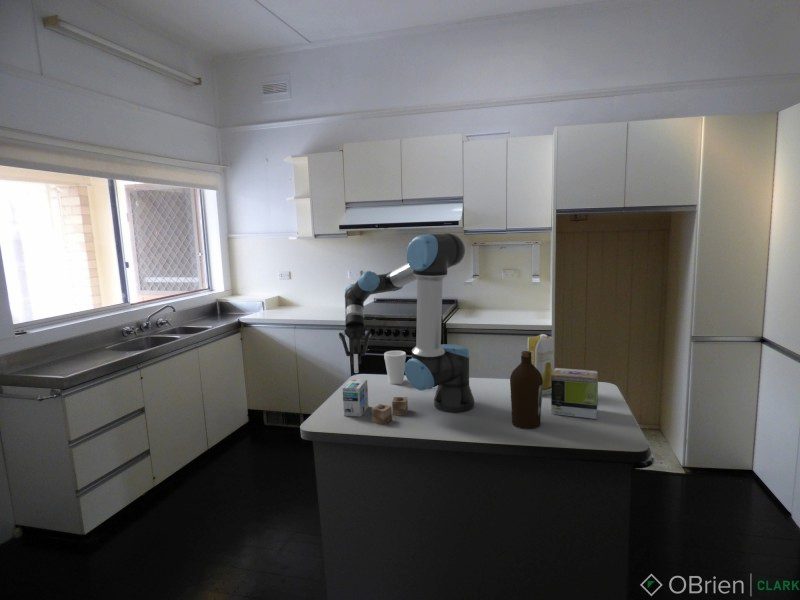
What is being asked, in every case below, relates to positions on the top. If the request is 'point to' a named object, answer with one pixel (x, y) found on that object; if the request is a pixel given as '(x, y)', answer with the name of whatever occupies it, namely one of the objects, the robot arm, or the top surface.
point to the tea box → (574, 392)
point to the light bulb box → (355, 397)
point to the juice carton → (542, 358)
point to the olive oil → (526, 393)
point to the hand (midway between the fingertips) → (356, 371)
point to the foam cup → (395, 366)
